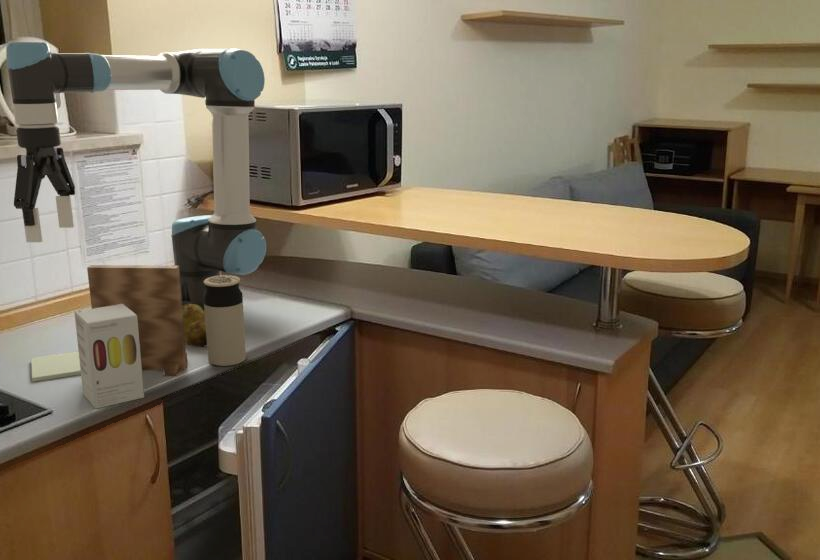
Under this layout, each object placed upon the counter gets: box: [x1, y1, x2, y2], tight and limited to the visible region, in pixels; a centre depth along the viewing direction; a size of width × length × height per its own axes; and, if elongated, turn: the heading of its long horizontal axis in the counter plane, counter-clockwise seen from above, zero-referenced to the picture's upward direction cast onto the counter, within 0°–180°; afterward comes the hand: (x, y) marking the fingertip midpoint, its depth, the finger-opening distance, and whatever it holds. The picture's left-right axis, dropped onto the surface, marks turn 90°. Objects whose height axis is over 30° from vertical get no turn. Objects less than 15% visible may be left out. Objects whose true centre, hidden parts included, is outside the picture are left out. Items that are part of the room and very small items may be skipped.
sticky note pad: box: [30, 351, 81, 383], centre depth 165 cm, size 10×12×1 cm
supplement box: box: [74, 304, 145, 409], centre depth 150 cm, size 10×9×17 cm
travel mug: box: [204, 274, 247, 367], centre depth 167 cm, size 8×8×18 cm
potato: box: [182, 304, 207, 348], centre depth 180 cm, size 8×13×8 cm, turn 17°
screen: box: [86, 264, 188, 377], centre depth 162 cm, size 18×8×22 cm, turn 89°
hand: (51, 234), depth 157 cm, fingers open, 13 cm apart
